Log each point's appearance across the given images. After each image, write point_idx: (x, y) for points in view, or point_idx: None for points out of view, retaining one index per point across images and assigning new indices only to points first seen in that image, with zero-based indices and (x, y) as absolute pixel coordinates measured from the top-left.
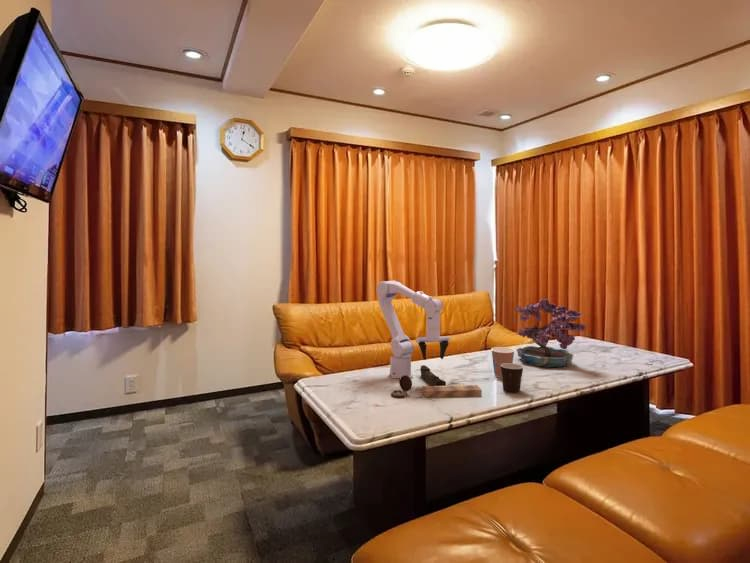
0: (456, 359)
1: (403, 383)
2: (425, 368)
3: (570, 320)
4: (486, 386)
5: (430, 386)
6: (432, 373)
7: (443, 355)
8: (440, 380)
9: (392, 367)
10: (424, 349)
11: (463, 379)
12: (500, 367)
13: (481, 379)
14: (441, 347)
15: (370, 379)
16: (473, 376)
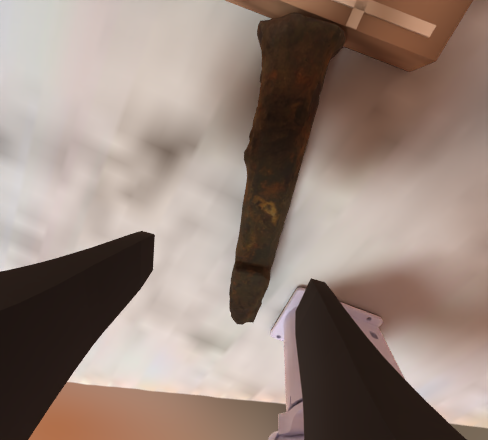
0: None
1: None
2: (256, 281)
3: None
4: (17, 23)
5: (395, 20)
6: (249, 217)
7: (114, 240)
8: (304, 19)
9: (396, 366)
10: (404, 404)
11: (100, 180)
12: None
13: (22, 145)
14: (46, 353)
15: (469, 344)
16: (47, 197)
